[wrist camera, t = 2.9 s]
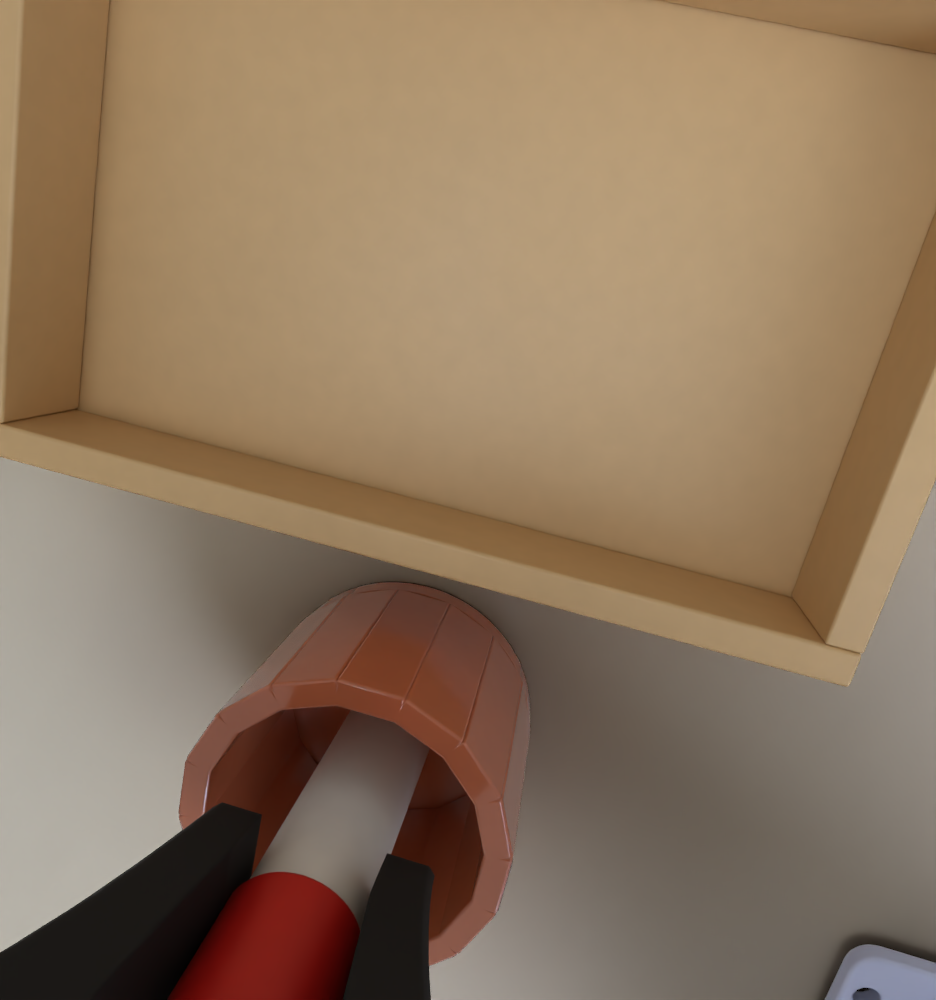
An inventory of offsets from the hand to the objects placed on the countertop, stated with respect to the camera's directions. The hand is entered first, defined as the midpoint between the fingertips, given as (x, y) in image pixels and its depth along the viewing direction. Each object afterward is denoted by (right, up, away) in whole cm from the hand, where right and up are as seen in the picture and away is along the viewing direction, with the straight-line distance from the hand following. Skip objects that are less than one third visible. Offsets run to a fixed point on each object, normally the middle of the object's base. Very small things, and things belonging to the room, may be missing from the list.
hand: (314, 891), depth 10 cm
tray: (+2, +10, +3) cm, 10 cm away
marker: (+1, +1, +5) cm, 5 cm away
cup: (+1, +1, +5) cm, 5 cm away
